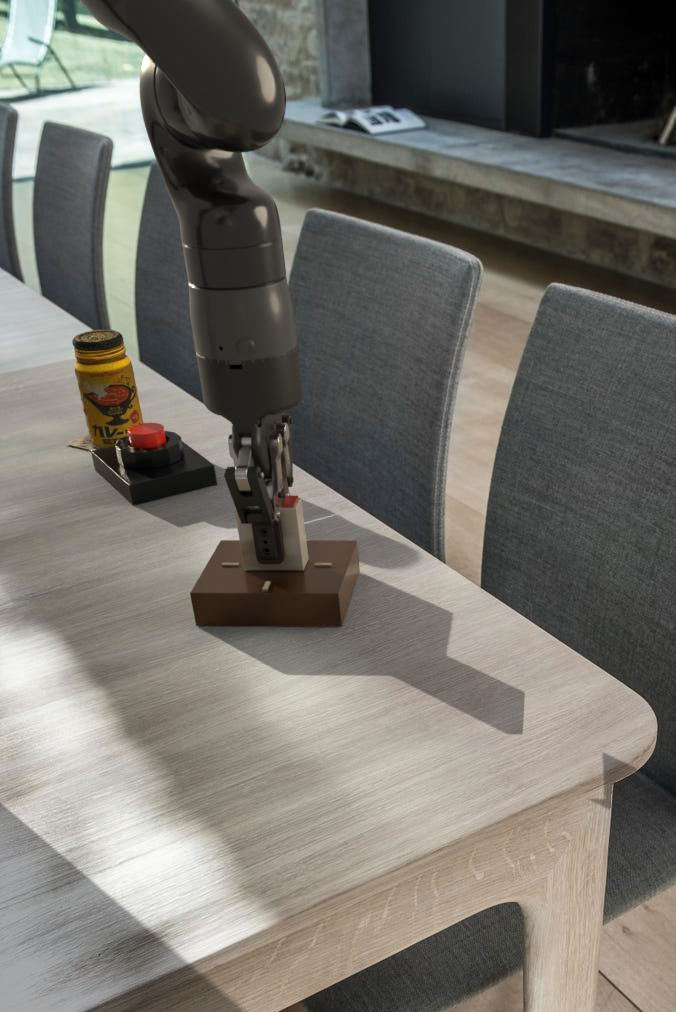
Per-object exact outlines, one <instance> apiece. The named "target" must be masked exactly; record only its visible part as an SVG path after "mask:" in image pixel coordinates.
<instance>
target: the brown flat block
mask: <svg viewBox="0 0 676 1012" xmlns="http://www.w3.org/2000/svg"><path fill="white" fill-rule="evenodd" d="M306 542H307V550H308V561H307V564H306V566H305V568H304V570H303V571H286V570H244V566H243V560H242V553H241V547H240V540H239V539H238V540H237V539H235V540H234V539H233V540H231V539H221V540H220V541H219V542H218V544H217V546H216V547H215V549H214V551H213V553H212V554H211V556H210V558H209V559H208V561H207V563H206V565H205V567H204V568H203V570H202V572H200V573H201V574H199V577H198V578H197V580H196V582H195V584H194V585H193V587H192V589H191V590H190V592H189V596H190V601H191V607H192V612H193V617H194V623H195V626H197V627H198V626H199V627H200V626H201V627H204V626H205V627H208V626H210V627H212V626H215V627H216V626H217V627H218V626H219V627H221V626H222V627H342V626H343V623H344V621H345V618H346V616H347V612H348V608H349V606H350V602H351V599H352V596H353V593H354V590H355V587H356V584H357V581H358V578H359V575H360V572H361V566H360V558H359V557H360V555H359V547H358V540H352V539H351V540H350V539H349V540H347V539H346V540H339V539H338V540H334V539H333V540H330V539H328V540H326V539H325V540H323V539H322V540H320V539H319V540H315V539H313V540H311V539H310V540H309V539H308V540H307V539H306Z"/></svg>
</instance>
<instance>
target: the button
mask: <svg viewBox="0 0 676 1012" xmlns="http://www.w3.org/2000/svg"><path fill="white" fill-rule="evenodd" d="M165 431H166V430H165V426H164V425H163V424H161V423H158V422H143V423H142V424H138V425H135V426H132V427H130V428H129V429H128V434H129V439H130V444H131V447H134V448H152V447H156V446H161V445H163V444H165V443H167V442H166V437H165Z"/></svg>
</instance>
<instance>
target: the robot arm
mask: <svg viewBox="0 0 676 1012" xmlns="http://www.w3.org/2000/svg"><path fill="white" fill-rule="evenodd" d="M79 2H80V3H81V4H82V6H83V7H84V8H85V10H87V12H88V13H89V14H90V15H91V16H92V17H93V18H94V19H95V20H96V21H97V22H98V23H99V24H100V25H102V27H104V28H106V29H108V30H110V31H112V32H114V33H115V34H118V35H121V36H123V37H124V38H126V39H128V40H130V41H131V42H133V43H134V44H135V45H136V46H137V47H139V48H140V49H141V50H142V51H143V53H144V56H143V58H142V62H141V66H140V73H139V85H138V86H139V103H140V109H141V114H142V120H143V125H144V128H145V131H146V134H147V137H148V141H149V144H150V146H151V149H152V152H153V155H154V157H155V161H156V164H157V166H158V169H159V171H160V175H161V177H162V180H163V183H164V186H165V188H166V191H167V194H168V196H169V198H170V200H171V203H172V205H173V207H174V210H175V212H176V215H177V219H178V223H179V229H180V237H181V244H182V245H181V246H182V251H183V259H184V264H185V270H186V271H185V272H186V277H187V282H188V294H189V298H188V299H189V301H188V302H189V316H190V324H191V330H192V338H193V343H194V350H195V356H196V362H197V369H198V373H199V381H200V386H201V393H202V399H203V405H204V406H205V408H206V409H207V410H208V411H209V412H210V413H212V414H214V415H216V416H222V417H224V418H226V419H228V420H229V421H230V423H231V425H232V426H231V433H229V434H228V436H227V437H228V438H227V444H228V453H229V456H230V458H231V459H232V460H233V466H226V467H225V469H224V473H223V477H224V479H225V483H226V486H227V488H228V491H229V493H230V497H231V499H232V502H233V504H234V508H235V507H236V510H237V513H238V516H239V518H240V521H241V523H242V524H249V523H251V524H252V531H253V538H254V544H255V551H256V558H257V561H258V562H259V563H261V564H280V563H282V562H283V560H284V558H285V551H284V544H283V536H282V528H281V521H280V517H281V512H280V509H279V499H278V498H285V497H286V496H291V492H290V488H292V487H293V484H294V481H295V480H294V475H293V474H294V471H293V469H294V468H293V466H294V465H293V464H294V463H293V458H294V457H293V424H294V420H293V419H294V418H293V416H292V414H291V413H286V412H289V411H291V410H293V409H294V408H296V407H297V406H298V405H300V403H301V402H302V400H303V398H304V389H303V381H302V380H303V379H302V371H301V362H300V354H299V345H298V337H297V327H296V318H295V310H294V305H293V300H292V296H291V292H290V288H289V284H288V277H287V270H286V260H285V253H284V252H285V251H284V244H283V242H284V241H283V237H282V236H283V234H282V233H283V232H282V225H281V219H280V215H279V209H278V206H277V204H276V202H275V200H274V198H273V197H272V196H271V195H270V193H268V192H267V191H266V190H264V189H263V188H261V186H259V185H258V184H256V183H255V182H254V181H253V180H252V178H251V176H250V175H249V174H248V170H247V168H246V167H247V166H246V164H245V160H244V157H243V153H249V152H255V151H258V150H260V149H262V148H264V147H265V146H268V145H269V144H270V143H271V142H272V140H274V139H275V137H276V136H277V135H278V134H279V132H280V130H281V128H282V126H283V123H284V119H285V115H286V110H287V95H286V93H287V92H286V86H285V81H284V77H283V74H282V71H281V68H280V65H279V63H278V61H277V59H276V56H275V55H274V52H273V51H272V48H271V46H269V44H268V42H267V41H266V39H265V38H264V36H263V34H262V33H261V32H260V30H259V29H258V28H257V27H256V26H255V24H254V23H253V22H252V21H251V19H250V18H249V17H248V15H246V13H245V12H244V11H243V10H242V9H241V8H240V7H239V5H238V4H237V3H235V1H234V0H79Z"/></svg>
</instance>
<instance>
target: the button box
mask: <svg viewBox="0 0 676 1012" xmlns="http://www.w3.org/2000/svg"><path fill="white" fill-rule="evenodd" d="M164 431H165V437H166V442H167V443H165V444H163V445H161V446H156V447H152V448H134V447H131V444H130V439H129V435H127V436H125V437H123V438H121V439H119V440H118V441H117V443H116V445H115V446H111V447H107V448H102V449H97V450H93V451H90V454H91V459H92V463H93V467H94V471H95V472H96V473H97V474H99V476H101V478H103V479H104V481H106V482H107V483H108V484H109V485H110V486H111V487H112V488H113V489H115V491H117V492H118V493H119V494H120V495H121V496H122V497H123V498H124V499H125V500H126V501H127V502H129V504H131V505H132V506H138V505H142V504H146V503H150V502H155V501H159V500H162V499H166V498H170V497H175V496H179V495H183V494H186V493H191V492H194V491H199V490H202V489H206V488H211V487H214V486H218V480H217V473H216V468H215V464H214V463H212V462H211V461H210V460H209V459H207V458H205V457H204V456H203V455H202V454H200V453H199V452H198V451H196V450H195V449H194V448H192V447H191V446H189V445H188V444H187V443H186V442H184V441H183V440H182V436H181V435H179V434H178V433H177V432H175V431H169V430H164Z"/></svg>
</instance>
